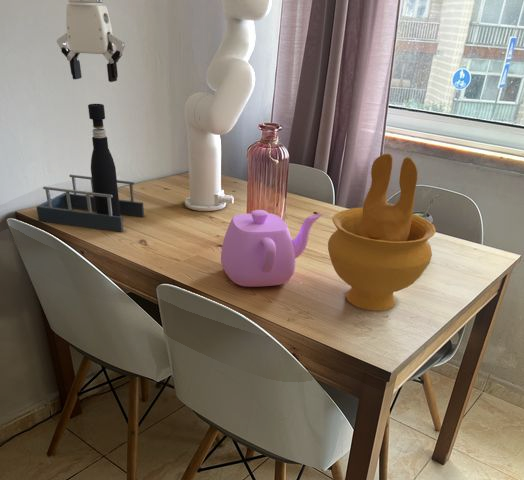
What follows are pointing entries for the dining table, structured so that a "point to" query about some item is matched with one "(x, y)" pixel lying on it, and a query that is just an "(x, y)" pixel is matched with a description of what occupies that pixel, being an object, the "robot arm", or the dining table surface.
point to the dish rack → (86, 208)
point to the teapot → (262, 248)
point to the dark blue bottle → (102, 164)
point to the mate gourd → (425, 214)
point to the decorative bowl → (381, 240)
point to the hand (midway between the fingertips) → (95, 80)
